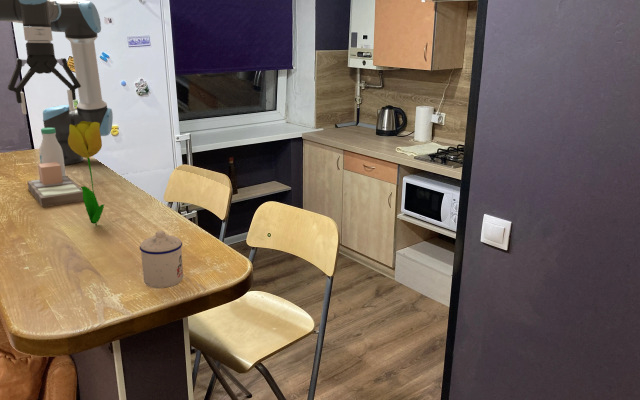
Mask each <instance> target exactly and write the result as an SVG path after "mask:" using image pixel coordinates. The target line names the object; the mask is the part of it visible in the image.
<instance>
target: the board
mask: <svg viewBox="0 0 640 400" xmlns="http://www.w3.org/2000/svg"><path fill="white" fill-rule="evenodd" d="M62 180H63V182H62V183H54V184H47V185H43V184H42V182H41V181H40V179H35V180H33V179H31V180H27V186H28V187H27V188H28V190H29V192H30V193H31V195H32V196H33V198H35V199H36V201H37V202H38V203H39V205H40V206H41V207H42V208H46V207H47V208H48V207H52V206H53V207H54V206H59V205H65V204H71V203H73V204H74V203H79V202H84V200H83V192H82V188H81V186H79V185H78V184H77V183H76V182H75V181H74V180H72V179H71V178H70V176H68V175H66V176H63V177H62Z"/></svg>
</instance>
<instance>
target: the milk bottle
mask: <svg viewBox="0 0 640 400" xmlns="http://www.w3.org/2000/svg"><path fill="white" fill-rule="evenodd" d="M40 130H41V131H40V132H41V137H42V139H41V143H40V147H39V152H38V153H39V164H44V163H52V162H57V163H58V164H60V165H61V172H62V177H63V176H67V174H66V167H65V165H64V157H63V151H62V148H61V146H60V144H59V143H58V141H57V139H56V136H55V134H56V130H55V128H44V127H42V128H40Z"/></svg>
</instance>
